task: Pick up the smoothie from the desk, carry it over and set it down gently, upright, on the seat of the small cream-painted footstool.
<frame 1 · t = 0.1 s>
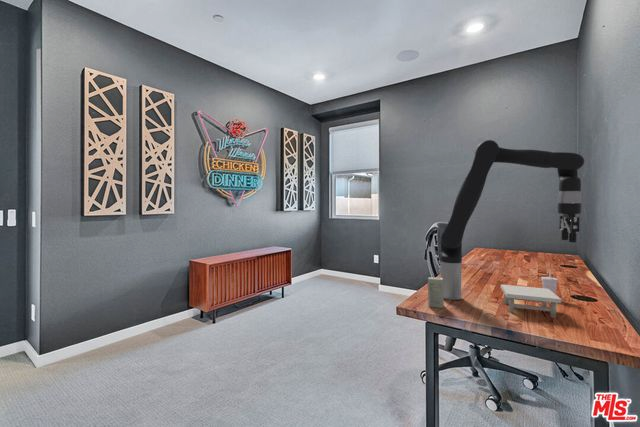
hand: (568, 241, 126), 29 cm above the table, tool pointing down, fingers open, 8 cm apart
smoothie: (549, 299, 143), on the table
skincare box: (435, 306, 132), on the table
footstool: (528, 310, 127), on the table
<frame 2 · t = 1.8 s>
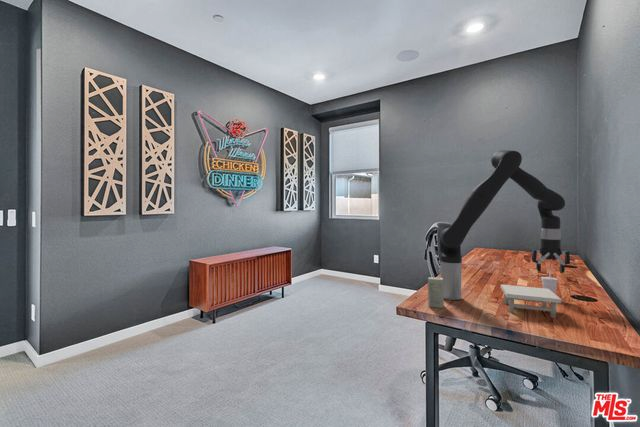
hand: (550, 272, 143), 13 cm above the table, tool pointing down, fingers open, 8 cm apart
nothing on the table moved.
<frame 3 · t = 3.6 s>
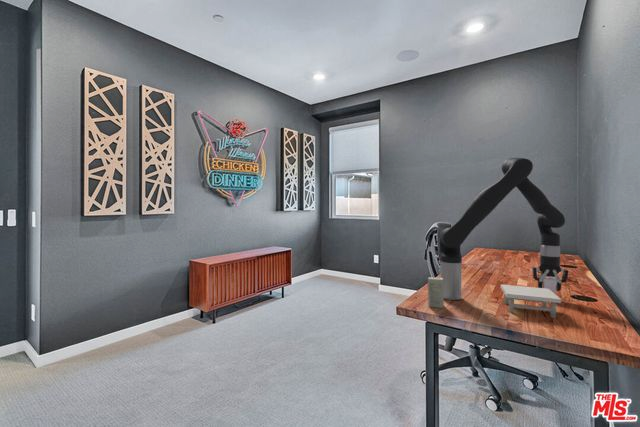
hand: (549, 289, 143), 4 cm above the table, tool pointing down, fingers closed on smoothie, 6 cm apart
smoothie: (549, 298, 143), on the table, touching gripper
everything else where it was.
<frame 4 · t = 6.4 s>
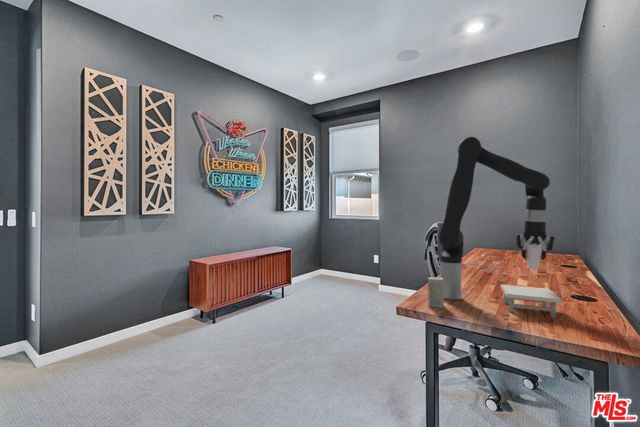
hand: (533, 258, 132), 21 cm above the table, tool pointing down, fingers closed on smoothie, 6 cm apart
smoothie: (533, 268, 132), point 17 cm above the table, touching gripper
everything else where it was.
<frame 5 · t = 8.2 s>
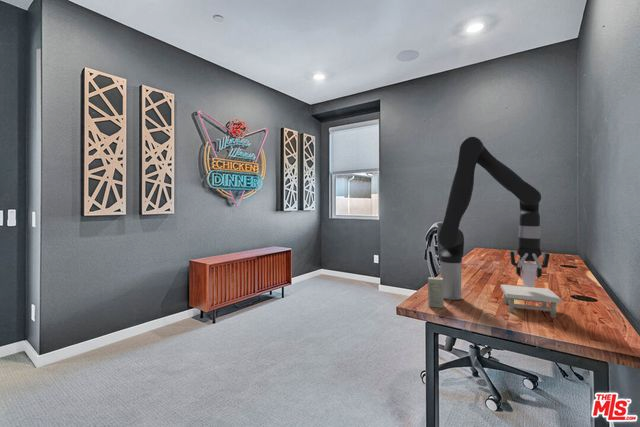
hand: (528, 276, 127), 14 cm above the table, tool pointing down, fingers closed on smoothie, 6 cm apart
smoothie: (528, 286, 127), point 10 cm above the table, touching gripper
everything else where it was.
when the fingers open (13 cm above the table, at t = 9.5 s): smoothie stays where it is, resting on footstool.
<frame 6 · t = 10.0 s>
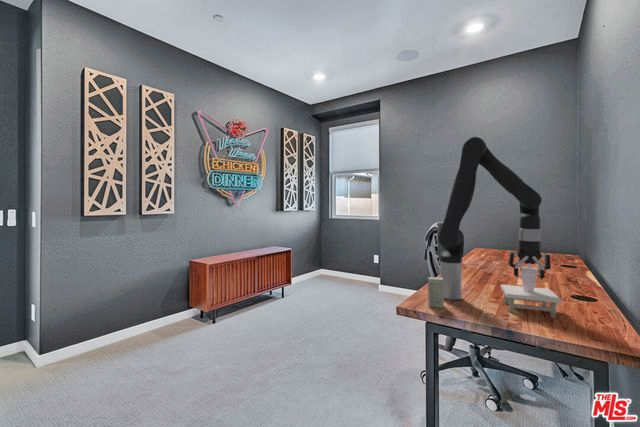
hand: (528, 277, 127), 14 cm above the table, tool pointing down, fingers open, 8 cm apart
smoothie: (528, 291, 127), point 8 cm above the table, touching footstool
everything else where it was.
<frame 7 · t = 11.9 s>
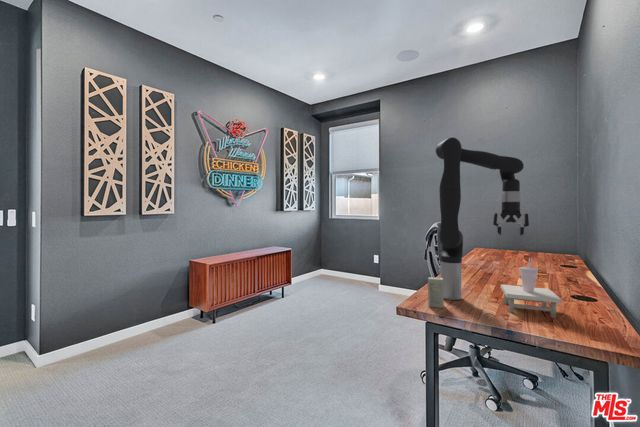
hand: (510, 235, 145), 30 cm above the table, tool pointing down, fingers open, 8 cm apart
nothing on the table moved.
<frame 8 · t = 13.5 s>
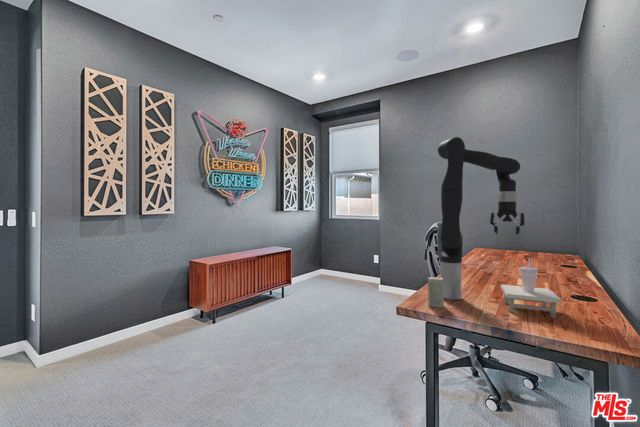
hand: (506, 233, 149), 30 cm above the table, tool pointing down, fingers open, 8 cm apart
nothing on the table moved.
at the end: smoothie inside the target area on the footstool (0.0 cm from its centre), point 7.8 cm above the footstool's base; smoothie tilted 0°; the gripper is holding nothing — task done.
